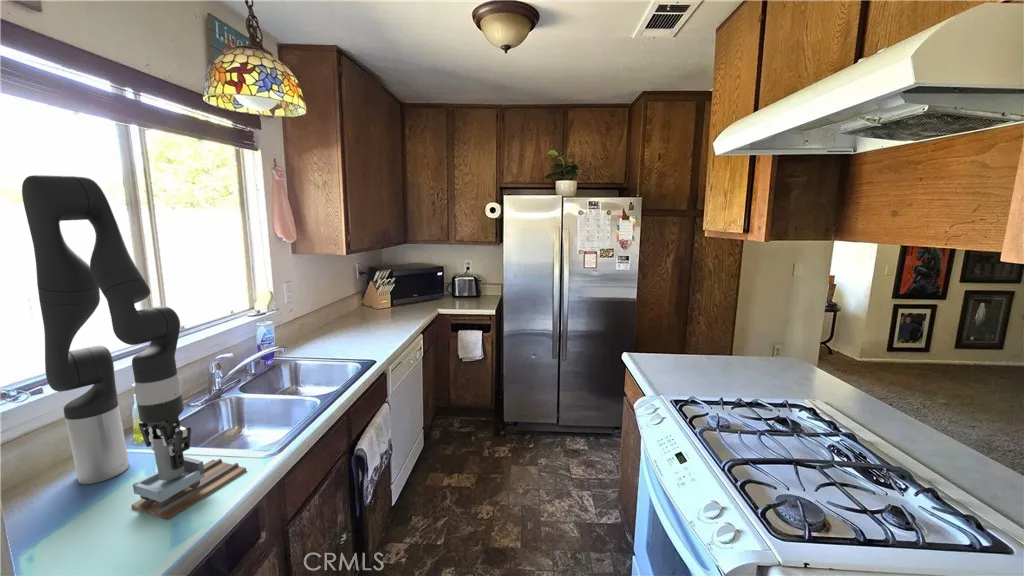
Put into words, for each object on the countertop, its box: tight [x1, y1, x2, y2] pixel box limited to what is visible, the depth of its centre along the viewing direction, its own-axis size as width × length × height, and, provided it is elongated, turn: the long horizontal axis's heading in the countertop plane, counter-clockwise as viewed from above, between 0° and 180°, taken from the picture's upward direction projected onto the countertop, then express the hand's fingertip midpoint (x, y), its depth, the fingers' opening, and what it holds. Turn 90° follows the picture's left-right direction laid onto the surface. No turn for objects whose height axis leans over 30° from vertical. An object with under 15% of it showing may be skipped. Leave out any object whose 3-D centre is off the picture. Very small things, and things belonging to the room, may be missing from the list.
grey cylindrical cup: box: [152, 436, 185, 481], centre depth 90 cm, size 4×4×10 cm
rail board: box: [131, 458, 247, 521], centre depth 95 cm, size 12×18×2 cm, turn 162°
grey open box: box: [132, 455, 205, 506], centre depth 90 cm, size 9×9×6 cm
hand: (170, 465), depth 91 cm, fingers closed on grey cylindrical cup, 4 cm apart
